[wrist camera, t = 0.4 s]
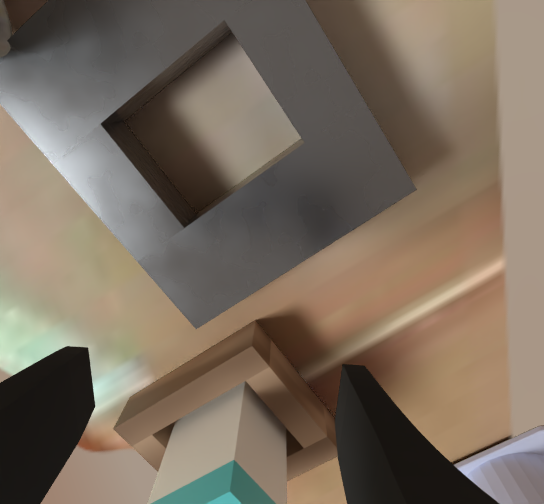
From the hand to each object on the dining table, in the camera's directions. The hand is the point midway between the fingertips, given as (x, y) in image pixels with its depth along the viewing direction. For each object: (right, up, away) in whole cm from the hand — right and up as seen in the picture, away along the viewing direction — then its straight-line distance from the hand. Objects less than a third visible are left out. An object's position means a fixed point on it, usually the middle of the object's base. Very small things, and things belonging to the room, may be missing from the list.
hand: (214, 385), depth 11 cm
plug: (-1, -6, +13) cm, 14 cm away
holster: (-1, -6, +13) cm, 14 cm away
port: (-1, +9, +7) cm, 12 cm away
